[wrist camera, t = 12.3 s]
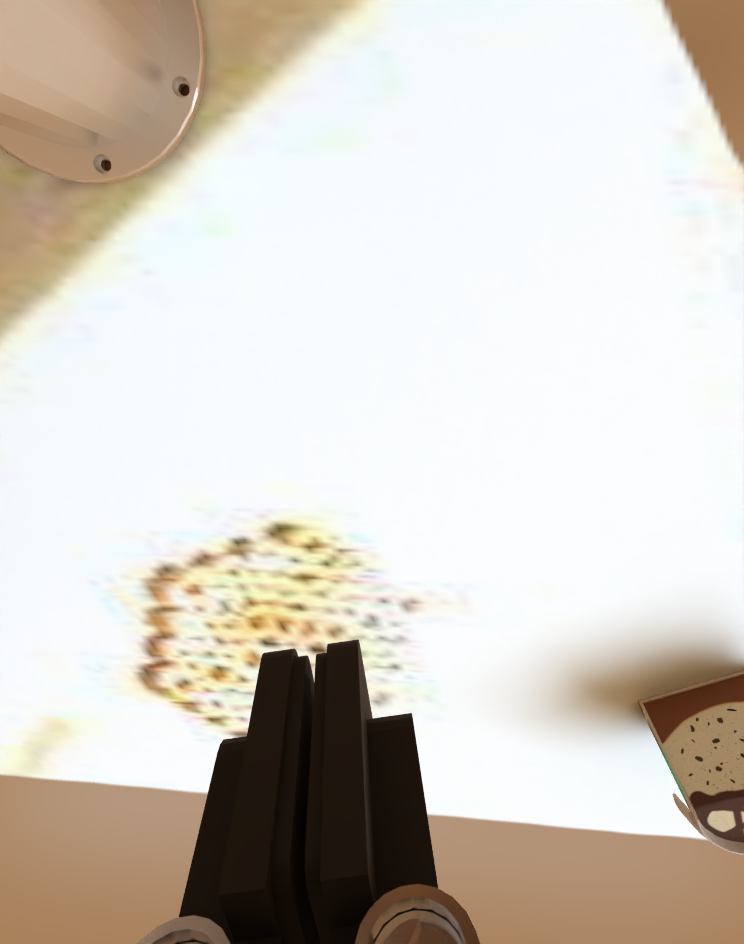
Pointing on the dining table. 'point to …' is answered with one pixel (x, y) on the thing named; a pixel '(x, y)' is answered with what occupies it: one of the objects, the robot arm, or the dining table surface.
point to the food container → (705, 754)
